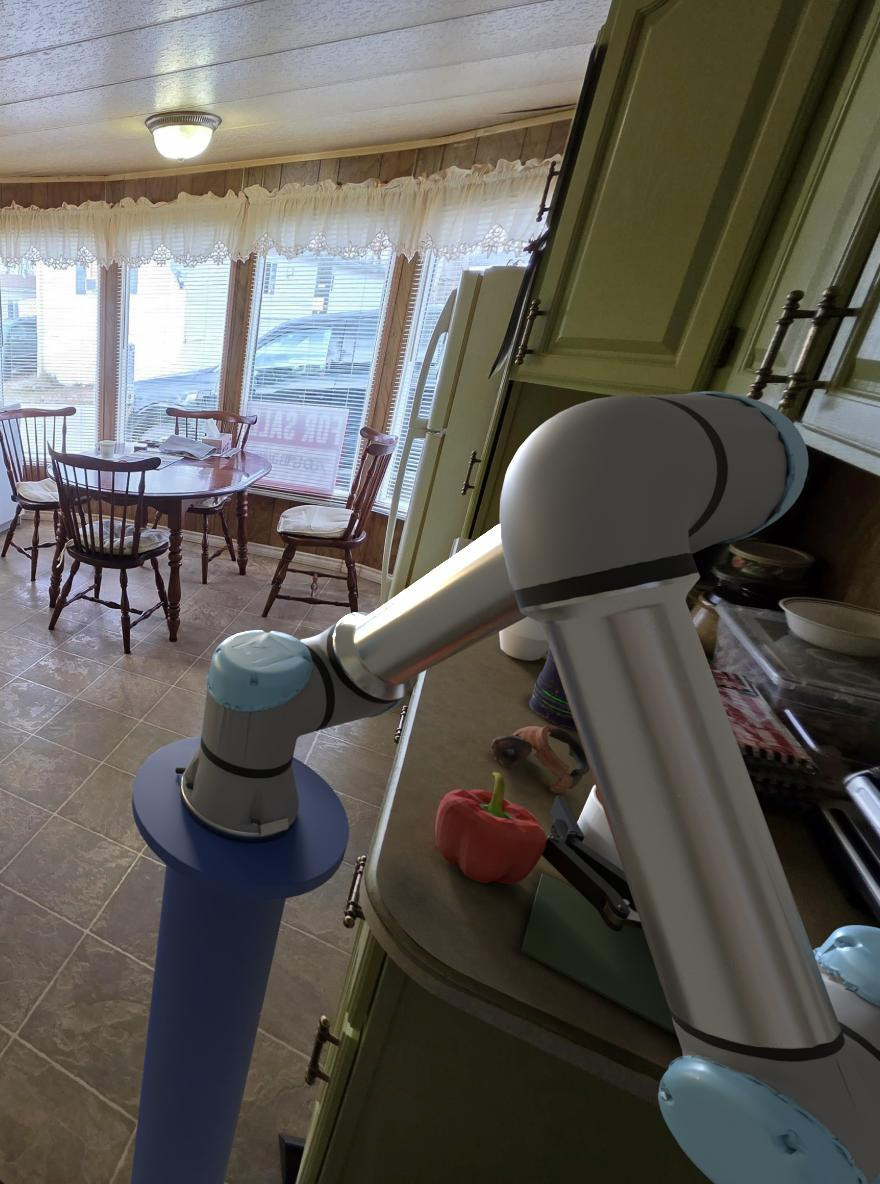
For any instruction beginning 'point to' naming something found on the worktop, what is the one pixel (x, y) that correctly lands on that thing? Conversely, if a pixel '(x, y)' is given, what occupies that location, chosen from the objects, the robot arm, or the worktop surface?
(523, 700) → the worktop surface
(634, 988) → the coaster
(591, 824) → the cup
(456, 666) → the worktop surface
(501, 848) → the vegetable
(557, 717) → the storage jar
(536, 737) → the headlamp
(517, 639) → the white lidded tub
